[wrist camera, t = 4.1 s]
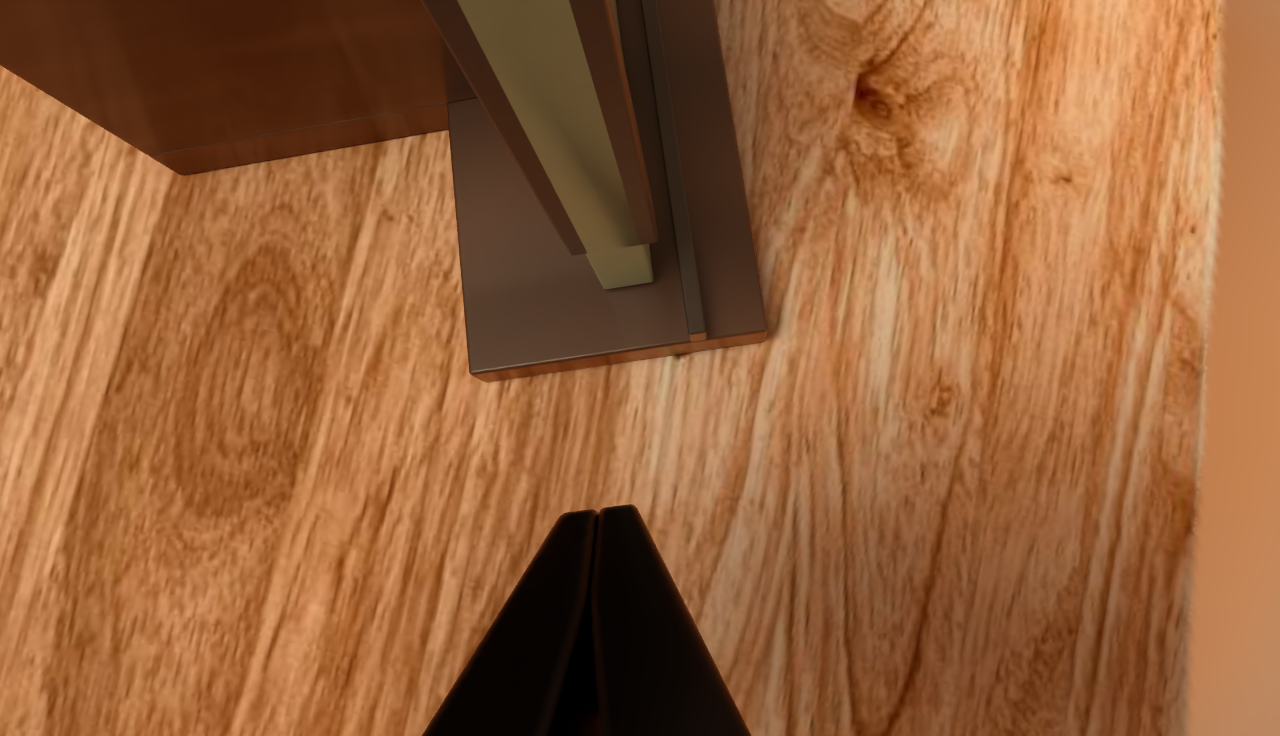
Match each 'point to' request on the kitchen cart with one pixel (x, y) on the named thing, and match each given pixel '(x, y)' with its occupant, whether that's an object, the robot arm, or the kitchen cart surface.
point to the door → (563, 119)
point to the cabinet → (481, 163)
